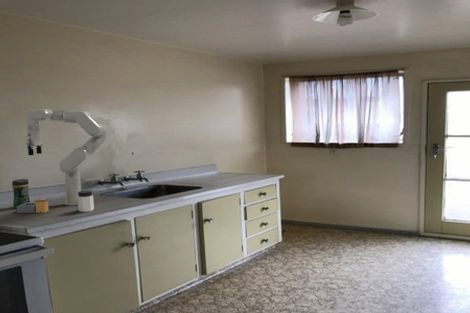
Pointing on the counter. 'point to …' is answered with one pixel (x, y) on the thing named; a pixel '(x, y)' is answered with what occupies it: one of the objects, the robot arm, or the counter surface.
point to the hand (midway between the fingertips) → (35, 154)
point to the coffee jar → (20, 192)
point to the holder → (27, 208)
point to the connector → (41, 205)
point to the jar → (85, 201)
